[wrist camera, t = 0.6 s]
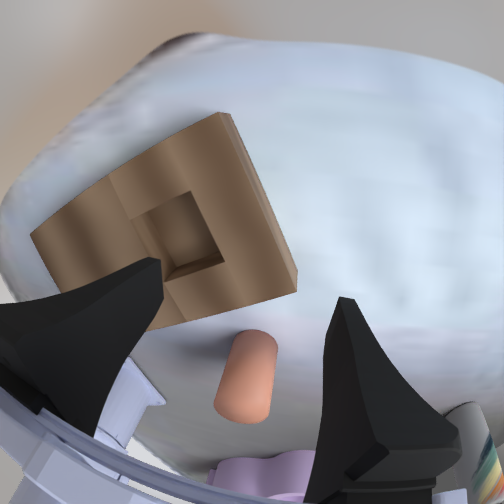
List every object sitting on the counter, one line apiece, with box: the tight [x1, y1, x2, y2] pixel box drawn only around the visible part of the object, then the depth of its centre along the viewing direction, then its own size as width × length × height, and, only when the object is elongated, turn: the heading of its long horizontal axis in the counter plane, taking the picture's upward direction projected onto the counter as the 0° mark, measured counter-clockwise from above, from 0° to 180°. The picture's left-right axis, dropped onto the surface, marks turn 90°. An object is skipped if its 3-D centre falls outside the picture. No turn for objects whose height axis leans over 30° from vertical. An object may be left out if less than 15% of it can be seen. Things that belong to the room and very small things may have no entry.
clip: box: [206, 450, 316, 503], centre depth 33 cm, size 20×12×7 cm, turn 133°
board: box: [30, 112, 298, 332], centre depth 21 cm, size 20×12×3 cm, turn 114°
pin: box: [214, 330, 278, 424], centre depth 22 cm, size 4×4×7 cm
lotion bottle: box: [445, 402, 504, 504], centre depth 17 cm, size 6×6×20 cm
